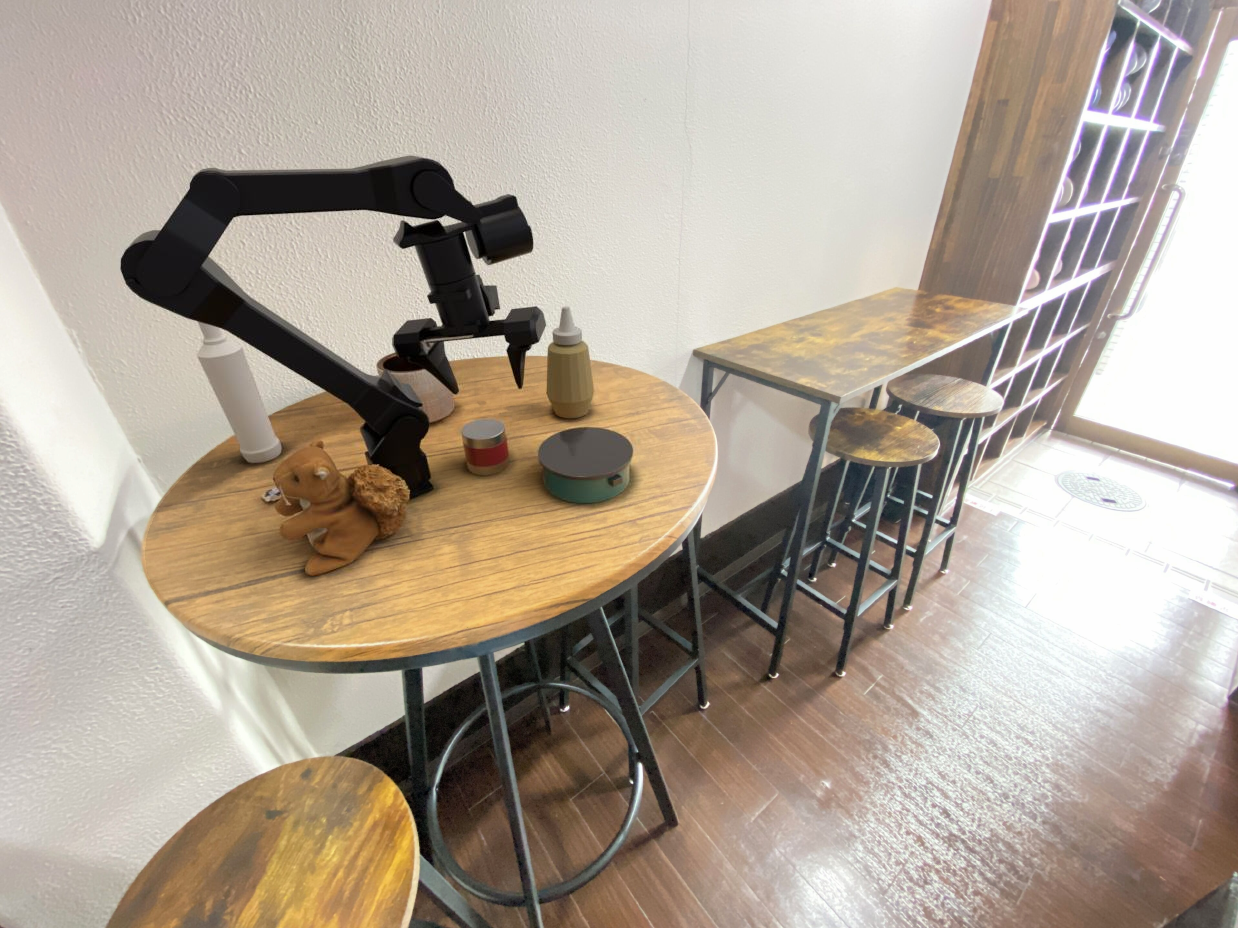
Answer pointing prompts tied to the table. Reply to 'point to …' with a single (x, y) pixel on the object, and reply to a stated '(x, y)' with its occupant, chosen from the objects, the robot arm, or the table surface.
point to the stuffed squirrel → (337, 506)
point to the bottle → (238, 395)
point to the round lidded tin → (585, 464)
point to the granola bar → (272, 495)
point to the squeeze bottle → (569, 370)
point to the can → (485, 446)
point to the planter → (420, 385)
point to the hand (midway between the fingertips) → (488, 390)
